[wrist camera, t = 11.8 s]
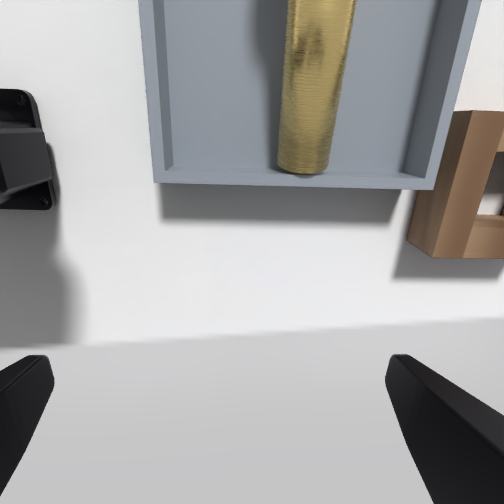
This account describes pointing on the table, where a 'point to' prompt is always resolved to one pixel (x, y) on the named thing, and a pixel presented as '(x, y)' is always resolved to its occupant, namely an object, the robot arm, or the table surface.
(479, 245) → the block
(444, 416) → the robot arm
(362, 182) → the tray
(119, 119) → the table surface
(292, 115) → the pin
